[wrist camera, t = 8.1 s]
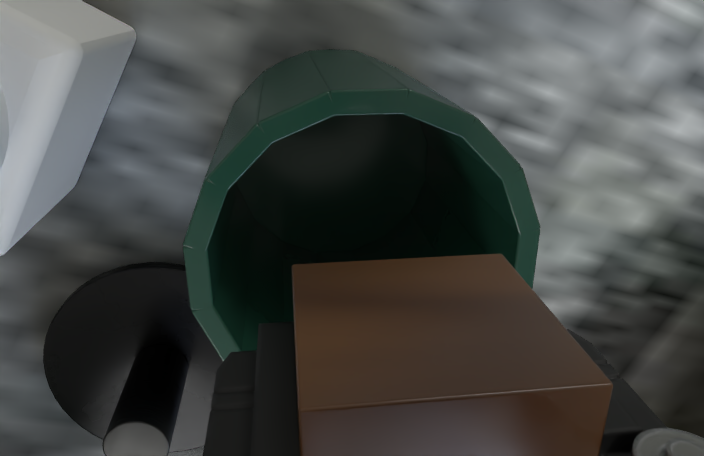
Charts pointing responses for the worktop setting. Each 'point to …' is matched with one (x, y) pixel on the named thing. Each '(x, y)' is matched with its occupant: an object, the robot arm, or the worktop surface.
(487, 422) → the block
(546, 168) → the worktop surface
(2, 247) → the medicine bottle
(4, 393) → the worktop surface
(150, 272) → the lid
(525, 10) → the worktop surface
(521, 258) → the tin
